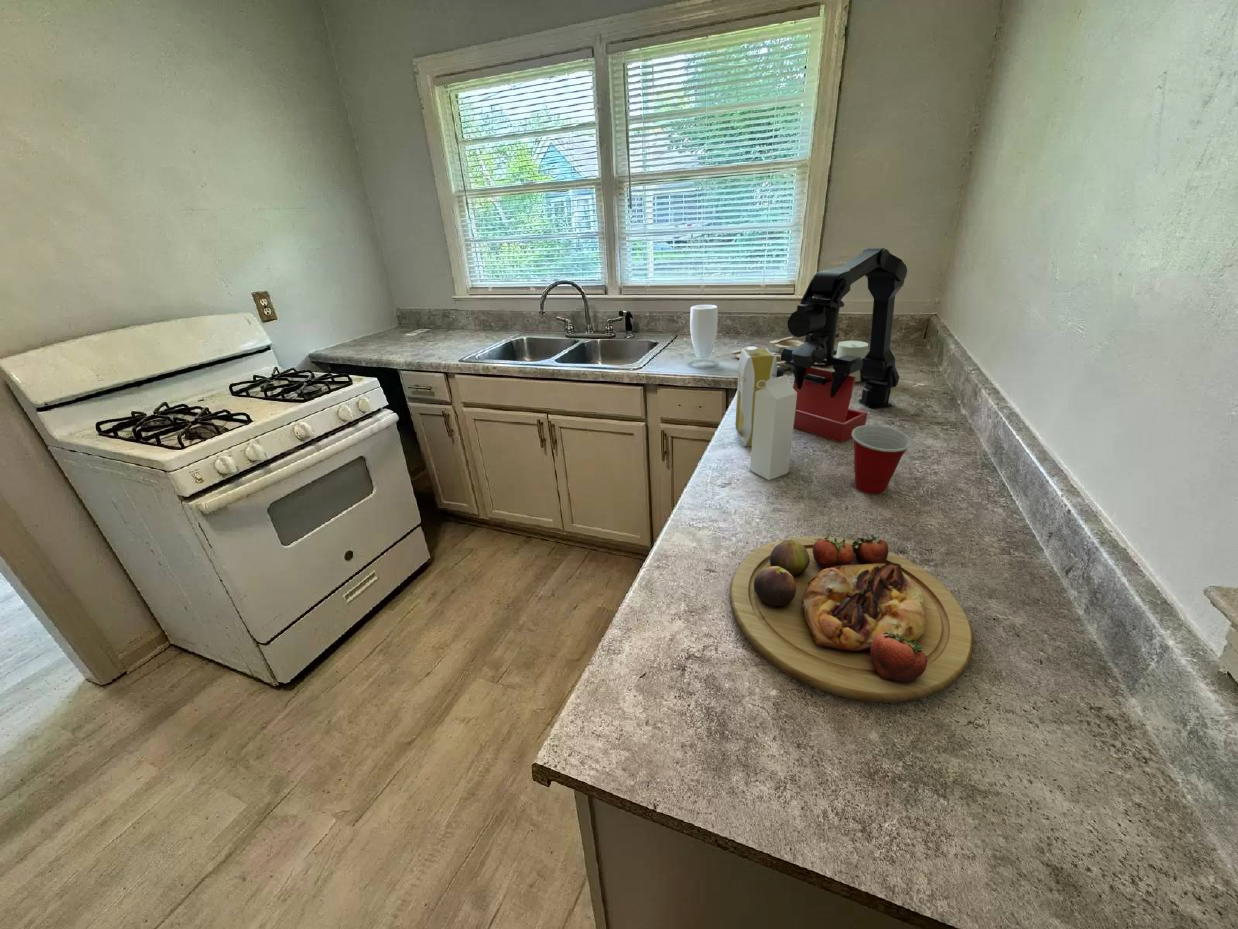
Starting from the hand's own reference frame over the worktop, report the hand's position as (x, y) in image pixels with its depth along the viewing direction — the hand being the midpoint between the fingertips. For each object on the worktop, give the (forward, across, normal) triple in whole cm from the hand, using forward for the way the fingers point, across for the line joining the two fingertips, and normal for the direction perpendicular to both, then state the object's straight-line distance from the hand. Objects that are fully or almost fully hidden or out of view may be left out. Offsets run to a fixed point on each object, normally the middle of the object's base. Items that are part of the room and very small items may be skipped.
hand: (815, 392), depth 122 cm
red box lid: (+1, 0, +3) cm, 3 cm away
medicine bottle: (+12, -20, +9) cm, 25 cm away
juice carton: (+12, -8, -13) cm, 19 cm away
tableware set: (+12, -48, +54) cm, 73 cm away
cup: (+12, -67, +28) cm, 73 cm away
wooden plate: (+12, +40, -51) cm, 65 cm away
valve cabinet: (+11, 0, +7) cm, 13 cm away
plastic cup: (+12, +24, -14) cm, 30 cm away
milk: (+12, +6, -23) cm, 27 cm away
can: (+12, -19, +48) cm, 53 cm away
